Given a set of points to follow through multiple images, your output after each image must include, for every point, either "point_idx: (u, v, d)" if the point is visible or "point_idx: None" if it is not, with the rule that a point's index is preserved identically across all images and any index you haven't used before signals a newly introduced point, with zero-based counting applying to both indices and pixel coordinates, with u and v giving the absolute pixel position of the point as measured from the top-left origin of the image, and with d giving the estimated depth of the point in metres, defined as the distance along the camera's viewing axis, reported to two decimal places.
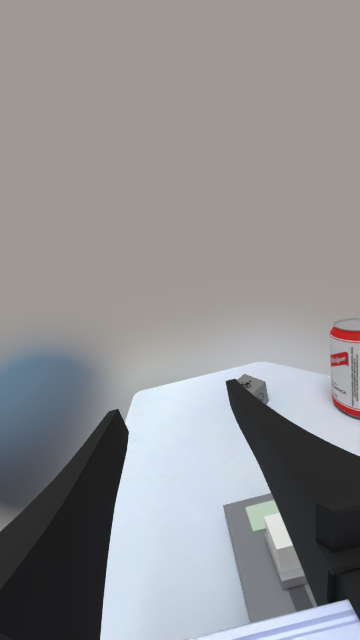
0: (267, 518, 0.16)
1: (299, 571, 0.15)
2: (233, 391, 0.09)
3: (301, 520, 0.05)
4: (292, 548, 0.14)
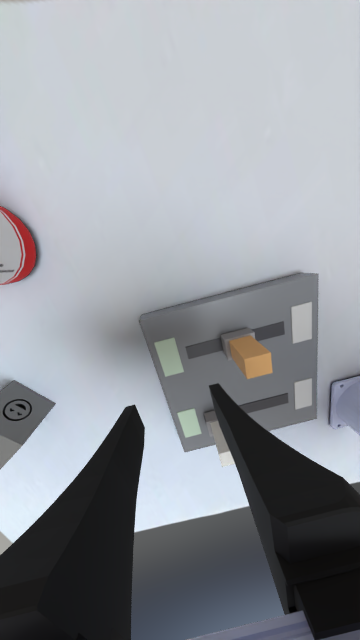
0: (223, 465, 0.16)
1: None
2: (214, 396, 0.09)
3: (265, 529, 0.05)
4: None
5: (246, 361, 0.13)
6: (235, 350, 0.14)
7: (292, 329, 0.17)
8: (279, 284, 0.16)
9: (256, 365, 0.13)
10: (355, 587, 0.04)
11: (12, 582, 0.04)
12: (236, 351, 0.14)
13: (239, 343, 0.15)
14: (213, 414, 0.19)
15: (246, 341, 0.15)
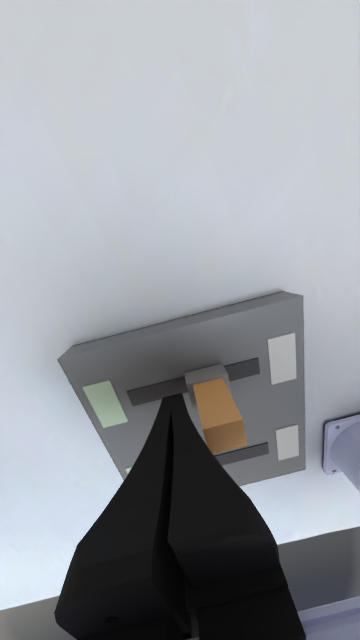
0: None
1: None
2: (171, 407, 0.09)
3: None
4: None
5: (205, 432, 0.08)
6: (197, 404, 0.10)
7: (270, 367, 0.13)
8: (250, 310, 0.12)
9: (221, 436, 0.08)
10: (251, 613, 0.04)
11: (114, 556, 0.04)
12: (197, 407, 0.10)
13: (204, 392, 0.10)
14: None
15: (214, 389, 0.10)
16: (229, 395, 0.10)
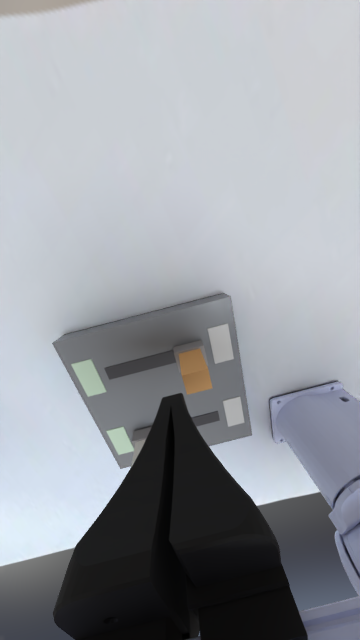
0: None
1: None
2: (172, 407, 0.09)
3: None
4: None
5: (184, 378, 0.13)
6: (180, 364, 0.14)
7: (213, 350, 0.17)
8: (192, 307, 0.16)
9: (194, 381, 0.13)
10: (253, 613, 0.04)
11: (113, 556, 0.04)
12: None
13: (186, 357, 0.15)
14: (141, 432, 0.19)
15: (193, 355, 0.15)
16: (202, 357, 0.14)
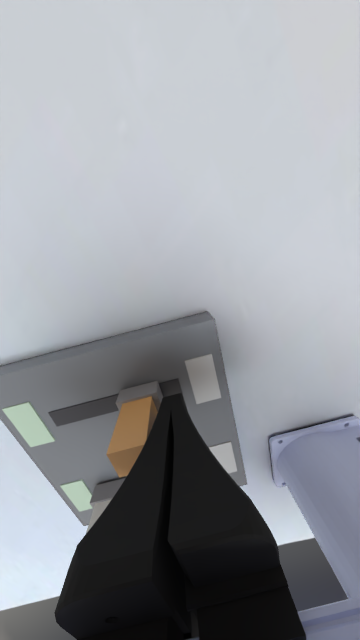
0: None
1: None
2: (171, 407, 0.09)
3: None
4: None
5: (110, 457, 0.08)
6: None
7: (193, 387, 0.13)
8: (162, 333, 0.12)
9: (128, 460, 0.09)
10: (251, 613, 0.04)
11: (114, 556, 0.04)
12: None
13: (128, 412, 0.11)
14: (104, 488, 0.15)
15: (138, 409, 0.11)
16: (147, 416, 0.10)
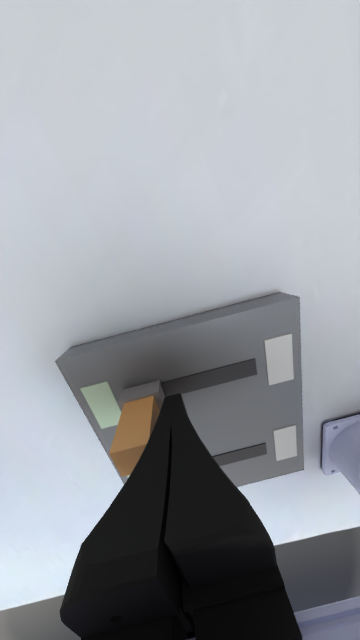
0: None
1: None
2: (170, 407, 0.09)
3: None
4: None
5: (113, 456, 0.08)
6: None
7: (268, 368, 0.13)
8: (246, 311, 0.12)
9: (130, 460, 0.09)
10: (248, 614, 0.04)
11: (119, 555, 0.04)
12: None
13: (130, 411, 0.10)
14: None
15: (140, 408, 0.11)
16: (150, 416, 0.10)
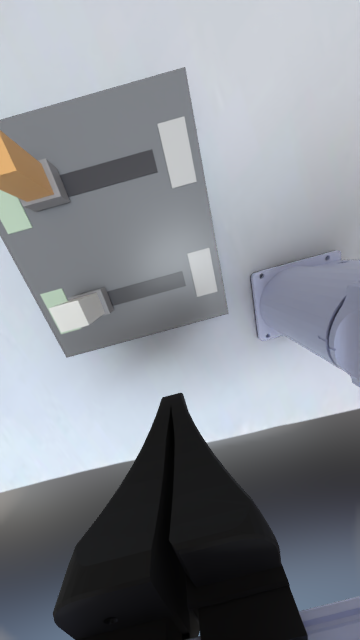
0: (62, 329, 0.12)
1: (99, 295, 0.14)
2: (172, 407, 0.09)
3: None
4: (83, 306, 0.12)
5: None
6: None
7: (168, 165, 0.13)
8: (133, 83, 0.12)
9: None
10: (253, 612, 0.04)
11: (113, 556, 0.04)
12: None
13: None
14: (83, 293, 0.15)
15: None
16: (21, 148, 0.10)
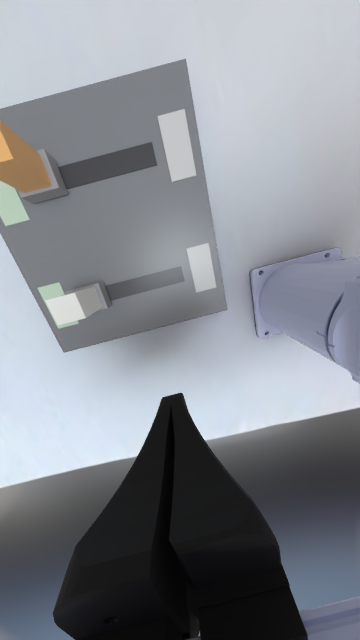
0: (59, 321, 0.12)
1: (97, 289, 0.14)
2: (172, 407, 0.09)
3: None
4: (80, 299, 0.12)
5: None
6: None
7: (167, 158, 0.13)
8: (133, 74, 0.12)
9: None
10: (253, 613, 0.04)
11: (113, 556, 0.04)
12: None
13: None
14: None
15: None
16: (18, 137, 0.10)
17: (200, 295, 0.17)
